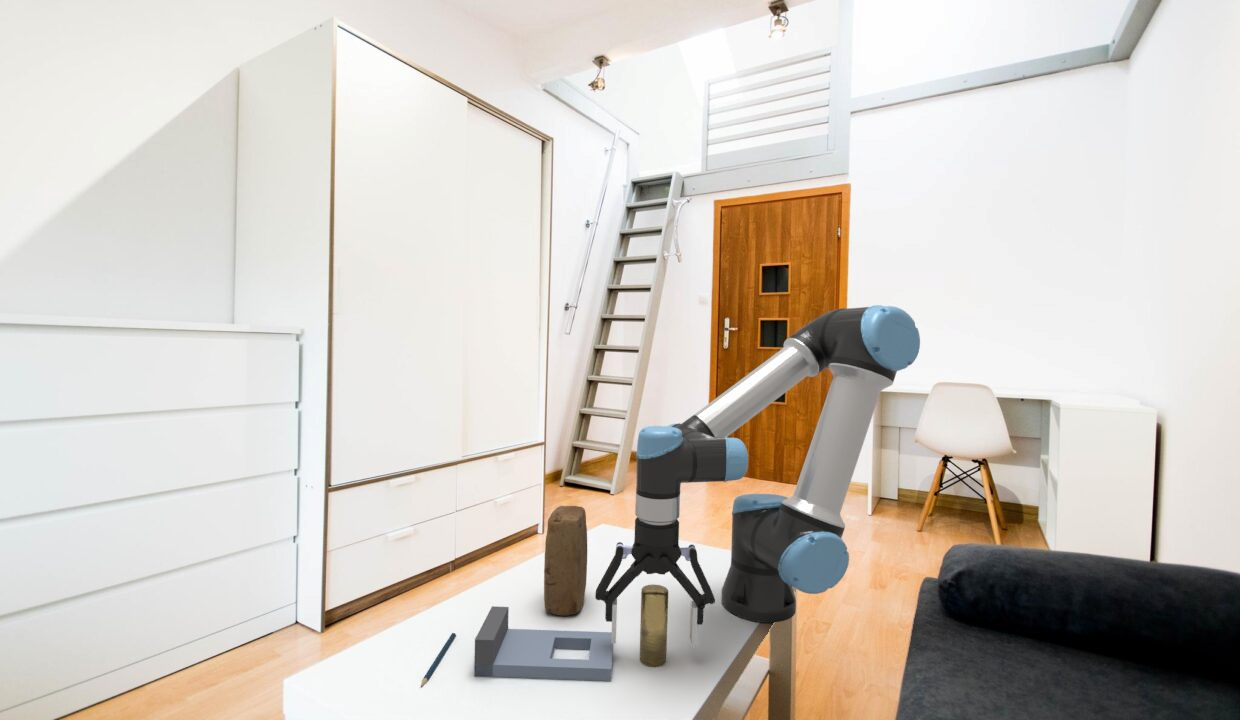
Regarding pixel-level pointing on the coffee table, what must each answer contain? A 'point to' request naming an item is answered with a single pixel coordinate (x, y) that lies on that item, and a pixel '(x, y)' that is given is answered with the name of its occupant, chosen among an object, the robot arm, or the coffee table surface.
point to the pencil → (438, 659)
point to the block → (565, 561)
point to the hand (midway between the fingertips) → (653, 640)
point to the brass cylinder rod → (653, 625)
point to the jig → (539, 651)
